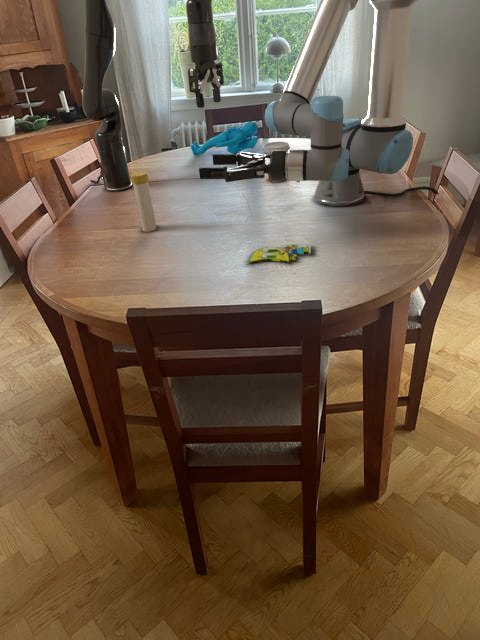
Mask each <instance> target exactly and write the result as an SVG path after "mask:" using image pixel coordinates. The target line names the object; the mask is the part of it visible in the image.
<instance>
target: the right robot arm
mask: <svg viewBox="0 0 480 640" xmlns="http://www.w3.org/2000/svg"><path fill="white" fill-rule="evenodd" d="M358 1H359V0H320V2H319V4H318V7H317V9H316V12H315V14H314V16H313V19H312V21H311V22H310V23H311V24H310V26H309V28H308V31H307V33H306V35H305V38H304V40H303V43H302V45H301V48H300V50H299V53H298V55H297V57H296V60H295V62H294V64H293V66H292V70H291V72H290V74H289V77H288V78H287V82H286V84H285V87H284V89H283V92H282V94H281V96H280V99H279V100H275V101H271V102H270V104H269V105H267V107H266V109H265V112H264V123H265V125H266V127H267V128H268V130H269V131H271V132H274V133H278V134H282V135H292V136H299V137H303V138H304V137H305V138H309V139H310V149H289V151H288V152H287V151H285V150H273V151H272V152H271V154H264V153H258V152H257V153H256V152H248V151H239V152H238V153H237V154H232V153H213V154H211V157H212V165H213V166H214V167H210V166H209V167H208V166H207V167H198V173H199V174H198V175H199V180H225V181H224V182H225V183H231V182H238V181H247V180H253V179H254V180H255V179H264V178H266V175H268V173H270V175H271V179H272V180H273V181H280V182H285V181H286V180H288V181H289V182H294V181H296V182H295V183H298V184H299V183H300V182H302V181H304V182H305V181H306V182H307V181H311V182H317V185H316V188H315V190H314V201H315V202H317V204H320V205H324V206H328V207H349V206H354V205H356V204H360V203H361V202H363V201H364V199H365V195H373V196H382V197H389V198H390V197H391V198H394V197H395V198H396V197H402V196H403V195H405V194H406V193H408V192H414V191H420V190H421V191H422V190H423V191H424V190H426V191H430V192H432V193H433V194H434V195H439V192H438V190H437V189H435V188H434V187H431V186H426V185H425V186H424V185H423V186H415V187H409V188H406V189H405V188H404V190H402V191H401V192H397V193H391V192H390V193H389V192H379V191H372V190H365V189H364V185H363V181H362V177H361V174H360V173H361V172H360V171H361V170H362V171H367V172H372V173H377V174H378V175H379V174H380V175H382V174H384V175H393V174H394V175H395V174H396V173H398V172H400V170H401V169H403V167H404V166H405V165H406V163H407V162H408V160H409V158H410V156H411V153H412V150H413V147H414V146H413V145H414V137H413V133H412V132H411V131H409V129H407V119H406V118H405V117H404V116H403V115H402V109H403V101H404V91H405V81H406V72H407V61H408V54H409V53H408V51H409V42H410V32H411V24H412V16H413V15H412V14H413V8H414V6H415V5H416V4H417V3H418V1H419V0H368V1H369V4H370V5H371V6H372V7H373V9H374V22H373V23H374V24H373V37H372V49H371V51H372V52H371V63H370V65H371V66H370V80H369V91H368V92H369V94H368V109H367V115H366V116H365V118H364V119H362V118H360V117H352V118H344V100H343V98H342V97H341V96H338V95H318V96H315V97H314V95H315V93H316V90H317V88H318V86H319V83H320V81H321V78H322V76H323V74H324V72H325V69H326V67H327V64H328V62H329V60H330V57H331V55H332V53H333V50H334V48H335V45H336V43H337V41H338V39H339V36H340V34H341V31H342V29H343V27H344V24H345V22H346V20H347V17H348V15H349V12H351V11H353V10H354V9H355V8H356V6H357V3H358ZM236 165H237V166H236ZM215 166H221V167H215ZM228 166H232V167H228Z"/></svg>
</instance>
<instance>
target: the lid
mask: <svg viewBox="0 0 480 640" xmlns="http://www.w3.org/2000/svg"><path fill="white" fill-rule="evenodd" d="M129 174H130V178H131V183H132V184H133V183H134V184H140V183H145V182H147V181H148V182H149V180H150V179H149V178H150V177H149V172H148V171H146V170H138V171H133V172H131V173H129Z"/></svg>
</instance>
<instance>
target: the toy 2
mask: <svg viewBox="0 0 480 640" xmlns="http://www.w3.org/2000/svg"><path fill="white" fill-rule="evenodd" d="M287 249H288V250H287ZM305 254H308V255H309V256H311V255H312V244H309V245H308V247H305V246H304V245H303V246H302V247H299V248H297V247H295V245H294V244H290V245H288V244H287V245H286V246H285V248H283V247H278V246H265V247H262V248H260V249H257V250H255V252H254V253H253V254H252V255H251V257H250V259H249V262H248V264H249V265H251V264H254V263H260V262H269V261H270V262H282V263H288V264H291V261H292V262H296V261H297V258H298V256H304V255H305Z"/></svg>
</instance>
